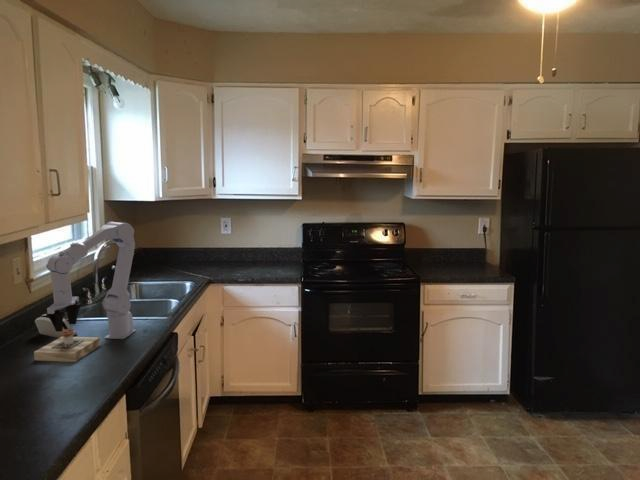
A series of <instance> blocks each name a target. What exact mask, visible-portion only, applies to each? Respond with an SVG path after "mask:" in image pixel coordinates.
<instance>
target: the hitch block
mask: <svg viewBox="0 0 640 480" xmlns="http://www.w3.org/2000/svg"><path fill="white" fill-rule="evenodd" d="M73 343H74V344H73V345H72V346H70V347H67V346H64V340H63V337H60V338H57V339H55V340H53V341H51V342H50V343H47V344H46V345H44V346H43V347H40V348H39V349H37V350H34V352H33V355H34V356H33V357H34V361H40V362H41V361H45V362H46V361H47V362H71V363H74V362H77V361H79V360H81V359H82V358H83V357H86V356H87V355H88V354H89V353H91V352H93V351H95V349H97V348H99V347H101V338H100V337H94V336H93V337H91V336H73Z"/></svg>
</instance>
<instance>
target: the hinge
mask: <svg viewBox="0 0 640 480" xmlns="http://www.w3.org/2000/svg"><path fill="white" fill-rule="evenodd" d="M34 324H35V326H36V328H37V330H38V332H39V334H40V335H44V336H49V337H52V338H53V337H54V338H57V339H59V338H60V337H63V336H62V334H61V332H58V331H56V330H55V328H54V326H53V324H52V322H51V320H50V319H49V318H48V317H47V316H46V313H44V314H42V315H40V316H39V317H36V319H35V320H34ZM70 325H71V324H70V323H69V321H68V320H67V319H65V318H64V317H63V330H66V329H72V327H71V326H70ZM63 330H62V331H63ZM73 332H74V333H73V336H74V337H79V334H78V332H77V331H76V330H75V331H74V330H73Z"/></svg>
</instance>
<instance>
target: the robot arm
mask: <svg viewBox="0 0 640 480" xmlns="http://www.w3.org/2000/svg"><path fill="white" fill-rule="evenodd" d="M134 234H135V229H134V228H133V226H132V225H131V224H130V223H127V222H115V221H108V222H107V223H106V224H103V225H101V227H100V228H99V229H98V230H96V231H95V232H94V233H93V234H91V235H90V236H89V237H88V238H86V239H85V240H84V241H82V242H72V243H71V244H70V245H69V247H67V248H66V249H65V250H63V251H59V252H58V255H52V256H50V258H48V261H47V264H45V266H46V269H47V270H48V271H49V272H50V278H51V280H50V281H51V288H52V295H53V296H52V297H53V303H52V304H51V305H50V306H49V307H47V308H46V312H45V314H46V316H47V317H48V318H49V319H50V320H51V322H52V324H53V326H54V328H55V330H56V331H58V332H61V331H62V330H63V318H64V316H65V314H66V315H67V318H68V320H67V321H68V324H69V325H76V324H77V320H78V316H79V315H78V314H79V311H80V309H81V307H82V303H81V302H80V297H79V296H73V292H72V285H71V284H72V283H71V275H70V272H71V270H72V268H73V266H74V265H75V264H77V263H78V262H79V261H81V260H83V259H85V257H86V256H88V252H89V251H90V250H91V249H93V248H94V247H96V246H98V245H99V244H100V243H103V242H104V241H106V240H112V241H113V242H115V244H116V246H118V248H119V249H118V252H117V258H116V263H115V267H114V268H115V269H114V273H113V280H112V285H111V287H110V289H108V290H107V291H106V295H105V297H104V299H103V300H102V308H103V309H104V310H105V311H106V314H107V324H108V325H107V327H108V334H107V335H106V336H104V339H107V340H108V339H112V340H114V339H115V340H117V339H118V340H125V339H126V338H127V337H129V336H131V335H132V334H133V333H134V332H137V330H136V329H134V321H133V314H132V312H131V311H130V310H131V307H132V306H131V305H132V304H131V293H129V290H128V285H129V280H130V274H131V269H132V264H133V259H134V253H135V250H136V249H135V248H136V242H135V237H134ZM63 309H65V311H66V313H65V312H64V311H60V310H63Z"/></svg>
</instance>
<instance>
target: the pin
mask: <svg viewBox="0 0 640 480" xmlns="http://www.w3.org/2000/svg"><path fill="white" fill-rule="evenodd" d="M73 331H74V329H72V328H71V329H66V330H63V331H61V334H62V336H63V340H64V346H67V347H70V346H72V345H73V344H74V343H73V337H74V335H73V333H74V332H73Z"/></svg>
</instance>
